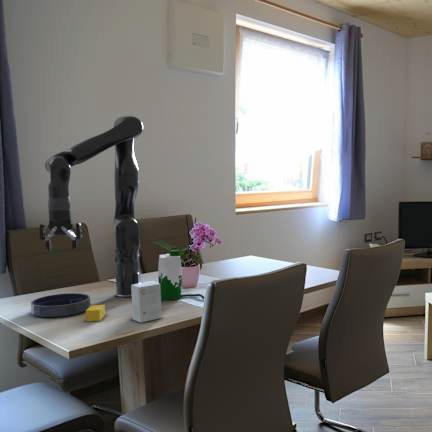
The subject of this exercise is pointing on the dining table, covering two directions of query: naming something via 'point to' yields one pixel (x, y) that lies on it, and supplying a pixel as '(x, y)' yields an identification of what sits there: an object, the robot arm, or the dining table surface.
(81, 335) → the dining table surface
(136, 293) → the small box
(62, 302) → the bowl
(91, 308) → the yellow block
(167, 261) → the milk carton
